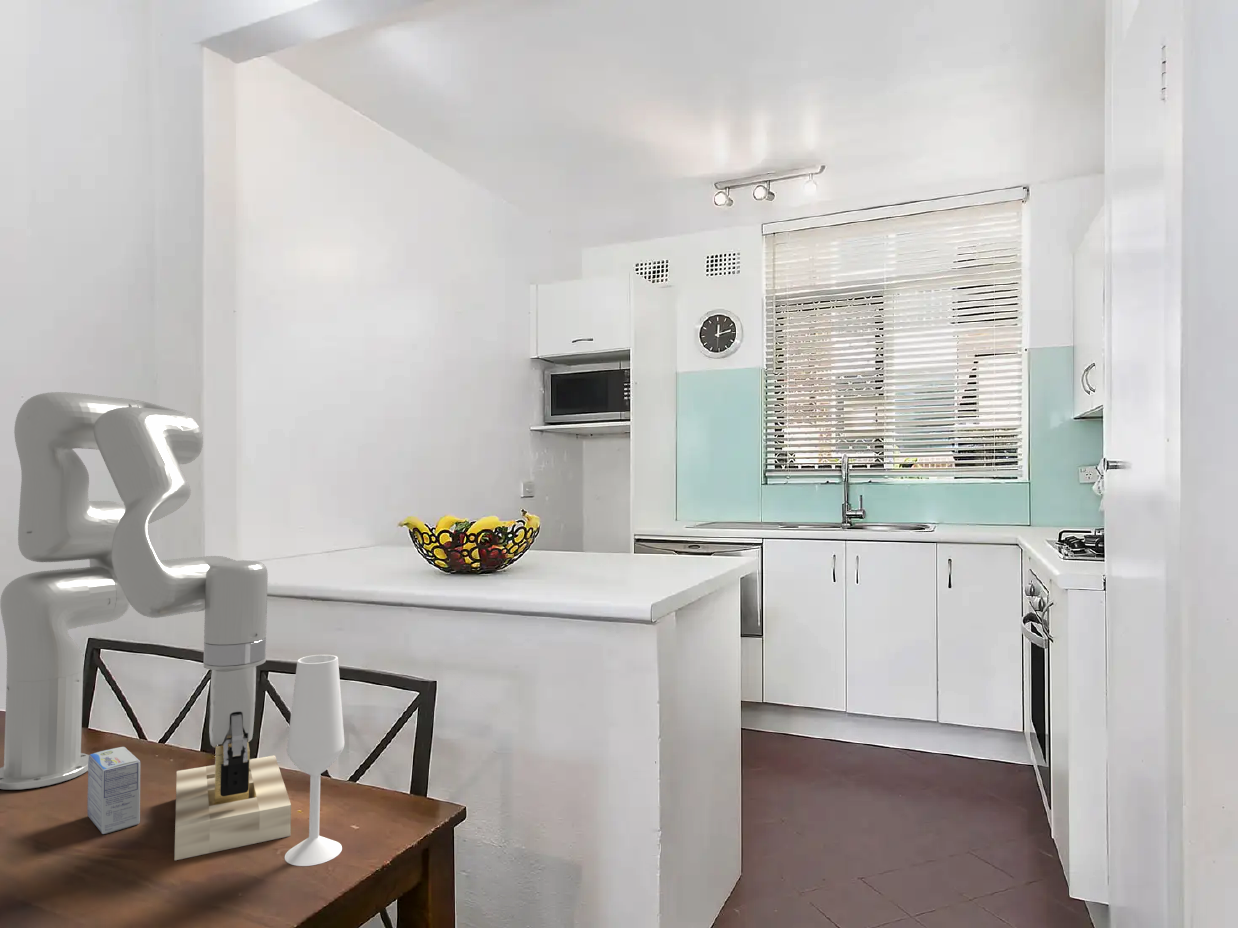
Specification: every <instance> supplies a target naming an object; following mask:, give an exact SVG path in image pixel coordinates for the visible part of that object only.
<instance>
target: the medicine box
mask: <svg viewBox="0 0 1238 928" xmlns="http://www.w3.org/2000/svg"><path fill="white" fill-rule="evenodd" d="M88 755H89V760H88V771H87V808H86V809H87V817H88V818H89V819H90V820H91V822H92V823H93V824H94V825H95V826H96V828H97V829H98V830H99V832H100V833H101V834H102V835H105V834H109V833H113V832H114V833H115V832H116V831H120V830H124V829H127V828H130V827H133V826H138V825H139V824H140V822H141V760H140V759H138V758H137V757H136V756H135V755H134V754H133V753H132V752H131V751H130V750H128V749H127V748H126V747H125V746H120V747H114V748H110V749H105V750H100V751H97V752H94V753H90V754H88Z"/></svg>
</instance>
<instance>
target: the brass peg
mask: <svg viewBox="0 0 1238 928" xmlns="http://www.w3.org/2000/svg"><path fill="white" fill-rule="evenodd" d="M229 748H230V747H228V750H229ZM247 753H248V760H249V764H250V759H251V757H250V756H251V755H250V754H251V750H250V743H249V742H247ZM228 756H229V755H228ZM214 757H215V758H214V765H215V793H214V805H217V804H223V803H228V802H234V801H239V800H245V799H249V785H248V791H247V792H245V793H240V794H234V795H229V796H221V793H220V787H221V764H223V746H218V745H217V747H215V756H214Z"/></svg>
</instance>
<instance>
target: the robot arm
mask: <svg viewBox="0 0 1238 928" xmlns="http://www.w3.org/2000/svg"><path fill="white" fill-rule="evenodd" d="M14 423H15V424H14V430H13V431H14V432H13V433H14V443H15V447H16V451H17V455H18V459H19V464H20V469H21V470H20V471H21V481H20V482H21V483H20V492H19V493H20V494H19V495H20V496H19V510H18V511H19V513H18V529H17V531H18V532H17V542H18V543H17V545H18V548H19V549H18V550H19V552H20V554H21V555H22V556H23V557H24V558H25V559H26V560H29V561H32V562H35V563H36V562H37V563H63V562H73V561H83V560H85V561H86V560H89V566H88V567H87V566H86V567H78V568H76V567H75V568H62V569H61V568H59V569H52V570H42V571H35V572H30V573H28V574H23V575H21V576H18V577H17V578H14V579H13V580H11V581H10V582H9V583H8V584H7V585H6V586H5V587H4V589H3V591H2V593H1V595H0V614H1V618H2V619H1V620H2V623H3V629H4V634H5V635H4V636H5V643H6V645H5V646H6V686H5V687H6V691H5V694H6V695H5V697H6V698H5V719H4V720H5V722H4V723H5V726H4V754H3V755H4V758H3V766H2V767H1V766H0V790H5V791H6V790H7V791H8V790H9V791H15V790H27V789H28V790H29V789H35V788H36V789H37V788H40V787H47V786H51V785H52V786H53V785H55V784H59V783H62V782H65V781H68V780H69V781H70V780H71V779H74V778H77V777H79V776H81V775H83V774H85V773H86V772H88V760H89V755H90V754H86V753H83V752H82V726H83V725H82V723H83V687H84V656H83V652H82V650H81V648H80V646H79V645H78V644H77V642H75V640H74V639H73V638H72V637H71V636H70V634H69V632H68V631H69V630H73V629H76V628H81V627H86V626H87V627H88V626H93V625H99V624H106V623H109V622H113V621H117V620H118V619H120V618H122V617H123V616H124V615H125V614H127V612H128V611H129V610H130V607H132V609H133V610H135V611H136V612H137V613H139V614H140V615H141V616H143V617H147V618H152V619H153V618H154V619H158V618H166V617H167V618H168V617H171V616H177V615H183V614H187V613H188V614H189V613H195V612H196V613H197V612H204V625H203V626H204V630H203V631H204V635H203V664H202V665H203V668H204V669H207V670H210V671H211V676H210V689H209V690H210V693H209V696H210V697H209V698H210V699H209V729H208V730H209V732H208V734H209V742H210V746H212V748H216V747H217V746H223V764H221V787H220V793H221V796H229V795H234V794H240V793H245V792H247V791H248V785H249V760H248V753H247V742H248V743H249V742H251V741H252V739H253V736H254V735H253V734H254V725H255V724H254V722H255V708H256V688H257V687H256V686H257V685H256V683H257V666H261V665H263V664H264V663H266V662H267V661H266V660H267V659H266V658H267V623H268V621H267V620H268V618H267V617H268V615H267V614H268V582H269V581H268V577H269V576H268V575H269V574H268V573H269V572H268V568H267V566H266V565H265V564H264V563H262V562H260V561H257V560H243V559H242V560H236V559H233V558H231V557H227V556H223V555H222V556H221V555H210V556H209V555H208V556H207V555H206V556H197V557H196V556H195V557H194V556H193V557H182V558H172V559H165V560H164V559H163V560H160V559H159V557H158V555H157V553H156V551H155V549H154V547H153V544H152V542H151V537H150V533H149V532H150V531H149V527H150V526H149V525H151V524H152V523H154V522H156V521H159V520H161V519H163V518H165V517H167V516H169V515H171V514H172V513H174V512H176V511H177V510H178V509H180V508H182V507H183V506H184V505H185V504H186V503H187V502H188V501H189V499H190V496H191V493H192V492H191V491H192V490H191V486H190V484H189V482H188V480H187V477H186V476H185V473H184V471H183V470H182V468H181V466H180V465H187V464H190V463H192V462H194V461H195V460H196V459H197V458H199V456H200V454H201V453H202V450H203V446H204V445H203V444H204V435H203V432H202V429H201V427H200V425H199V424H198V422H197V421H196V419H194V418H193V417H192V416H191V415H189V414H188V413H186V412H183V411H180V410H176V409H173V408H169V407H165V406H162V405H158V404H155V403H151V402H147V401H144V400H143V401H142V400H136V399H131V398H130V399H129V398H124V397H123V398H122V397H121V398H120V397H111V396H104V395H103V396H102V395H95V394H89V393H79V392H78V393H77V392H66V391H65V392H61V391H60V392H59V391H56V392H52V391H51V392H44V393H40V394H35V395H33V396H32V397H30V398H28V399H27V400H26V401H25V402H24V403H23V404H22V405H21V406H20V408H19V410H18V412H17V414H16V418H15V421H14ZM74 449H85V450H99V452H100V454H101V457H102V459H103V461H104V463H105V466H106V468H107V471H108V473H109V474H110V477H111V480H112V482H113V484H114V486H115V488H116V490H117V493H118V495H119V498H120V499H121V501H122V503H123V504H122V503H120V502H116V501H110V500H89V486H90V475H89V472H88V469H87V466H86V465H85V463H84V462H83V460H82V459H81V457H80V456H79V454H78V453H77V452H76V451H75V450H74ZM228 747H230V748H229V750H228ZM228 755H229V756H228Z"/></svg>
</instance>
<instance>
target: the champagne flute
mask: <svg viewBox="0 0 1238 928" xmlns="http://www.w3.org/2000/svg"><path fill="white" fill-rule="evenodd" d="M339 667H340V666H339V657H338V656H337V655H334V654H313V655H307V656H303V657H301V658H299V659H297V662H296V669H295V678H294V686H293V694H292V703H291V704H292V705H291V710H290V712H291V713H290V719H289V728H288V736H287V745H286V753H287V756H288V759H290V761H291V762H292V764H294V765H295V767H297V768H298V769H300V770H301V771H302V772H303V773H304V774H307V775H309V776H310V778H309V779H310V780H309V783H310V784H309V818H308V819H309V820H308V821H309V823H308V827H309V828H308V837H307V838H306V839H304V840H302V841H301V842H299V843H298V844H296V845H294V846H293V847H292V848H290V849H288V851H287V852H286V853H285V854H284V861H285V862H286V863H287V864H290V865H292V866H295V867H296V866H297V867H309V866H316V865H321V864H324V863H326V862H329V861H331V860H333V859H335V858H336V857H338V856H339V855H340V854H341V852H342V850H343V847H342V844H341V843H340V842H339V841H336V840H334V839H330V838H328V837H324V836H323V835H320V812H321V811H320V810H321V774H323V773H324V772H326V770H328V769H329V768H330V767H331V766H332V764H334V763H335V762H336V761H337V759H338V758H339V757H340V756H341V754H342V752H343V750H344V748H345V733H344V732H345V731H344V717H343V707H342V706H343V705H342V694H341V693H342V692H341V680H340V678H341V677H340V669H339Z"/></svg>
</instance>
